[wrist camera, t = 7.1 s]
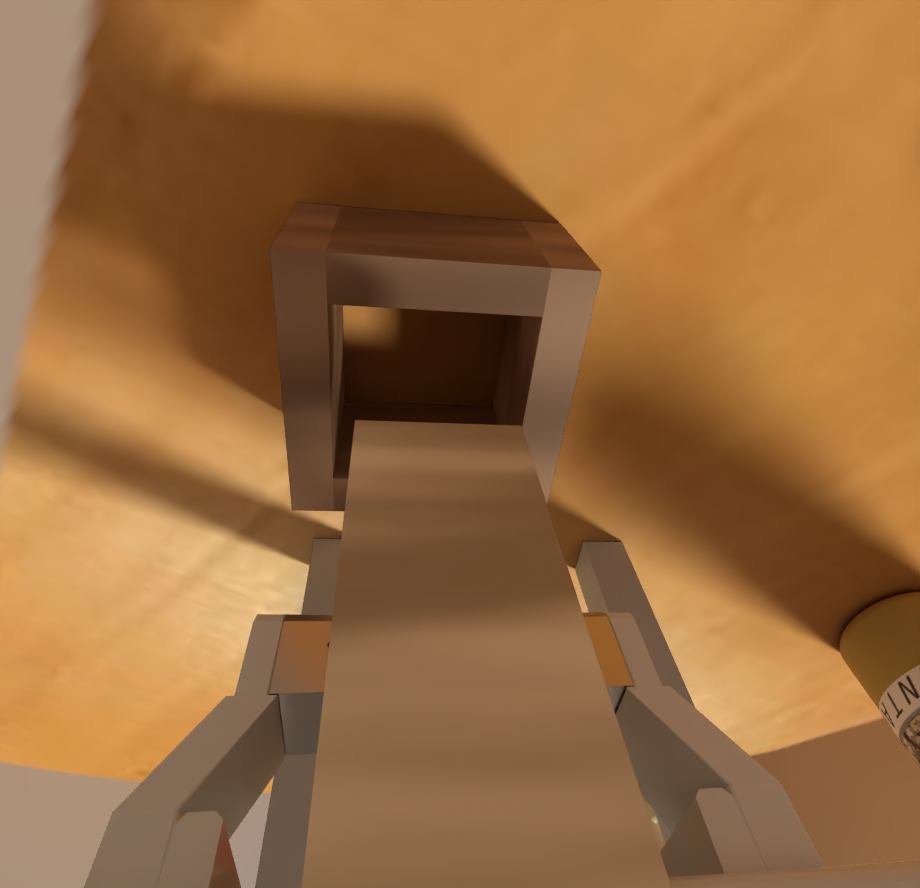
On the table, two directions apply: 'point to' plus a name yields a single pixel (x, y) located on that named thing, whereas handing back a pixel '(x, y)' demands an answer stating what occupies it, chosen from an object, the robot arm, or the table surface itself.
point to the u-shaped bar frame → (285, 836)
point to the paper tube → (889, 662)
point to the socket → (425, 288)
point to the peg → (465, 685)
